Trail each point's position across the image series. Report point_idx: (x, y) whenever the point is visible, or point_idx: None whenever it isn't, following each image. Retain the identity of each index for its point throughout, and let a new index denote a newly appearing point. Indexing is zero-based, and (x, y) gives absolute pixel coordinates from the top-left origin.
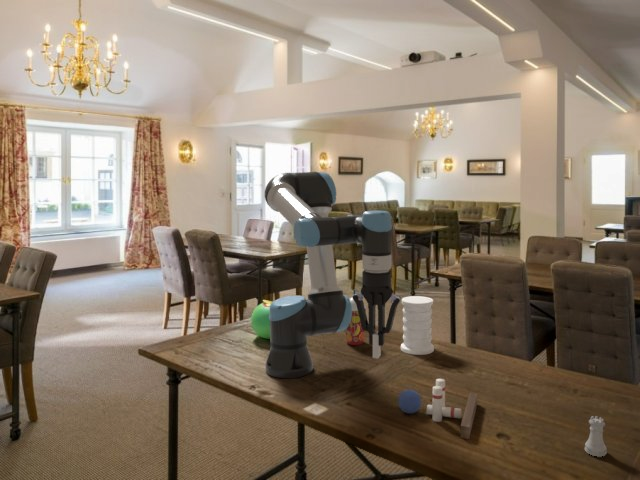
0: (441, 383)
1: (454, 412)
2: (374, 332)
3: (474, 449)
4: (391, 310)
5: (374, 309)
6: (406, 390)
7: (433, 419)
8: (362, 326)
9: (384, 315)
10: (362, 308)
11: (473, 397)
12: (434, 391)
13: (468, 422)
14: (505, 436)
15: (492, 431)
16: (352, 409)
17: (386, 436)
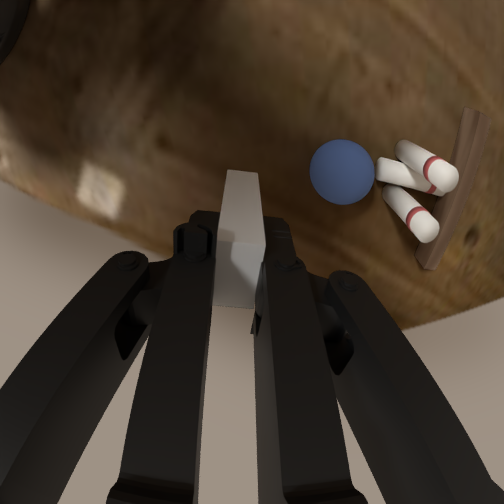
0: (445, 191)
1: (431, 193)
2: (215, 268)
3: (421, 282)
4: (395, 489)
5: (196, 477)
6: (342, 180)
7: (384, 199)
8: (119, 330)
9: (328, 402)
10: (64, 462)
11: (481, 139)
12: (416, 236)
13: (440, 254)
14: (474, 237)
15: (465, 224)
16: (182, 173)
17: None
